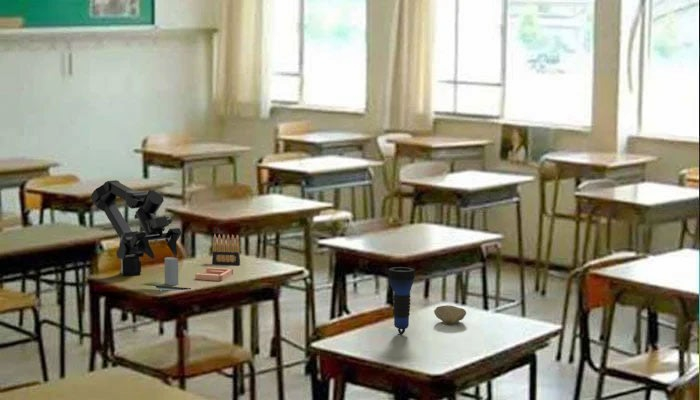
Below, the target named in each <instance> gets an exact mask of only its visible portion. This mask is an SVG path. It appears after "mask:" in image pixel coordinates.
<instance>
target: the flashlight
mask: <svg viewBox="0 0 700 400" xmlns="http://www.w3.org/2000/svg"><path fill="white" fill-rule="evenodd" d="M387 271H388V277H387V278H388V281H389V286H390V288H391V290H392V291H393V293H394V294H393V295H392V296H393V298H392V300H393V303H392V305H393V306H392V307H393V309H392V311H393V312H392V313H393V324H394V328H396V329H397V332H398V333H399V334H400V335H403V334H405V333H406V329H408V328H409V325H410V324H409V323H410V322H409V321H410V311H411V297H412V296H411V290H412V287H413V284H414V281H415V277H416V275H415V274H416V269H415V268H412V267H406V266H405V267H403V266H397V267H396V266H394V267H390V268H388V270H387Z"/></svg>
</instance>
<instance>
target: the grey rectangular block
mask: <svg viewBox="0 0 700 400" xmlns="http://www.w3.org/2000/svg"><path fill="white" fill-rule="evenodd" d="M164 285H168V286H169V287H170V288H174V287H175V286H176V285H179V258H177V257H174V256H171V257H164Z"/></svg>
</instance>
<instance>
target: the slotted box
mask: <svg viewBox="0 0 700 400" xmlns="http://www.w3.org/2000/svg"><path fill="white" fill-rule="evenodd" d="M232 275H234V269H233V268H221V267H219V268H218V267H206V268H205V273H198V272H197V273H195V275H194V279H195V280H203V281H217V282H219V281H220V282H222V281H224V280H225V279H227V278H229V277H231V276H232Z"/></svg>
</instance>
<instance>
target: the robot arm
mask: <svg viewBox="0 0 700 400" xmlns="http://www.w3.org/2000/svg"><path fill="white" fill-rule="evenodd" d="M117 197H118V198H120V199H122V200H124V202H125V205H127V207H129V208H130V209H133V210H134V209H136V211H135V214H134V217H133V218H134V219H136V220H138V221H139V223H140V225H141V228H140V230H141V231H138V230H134V231H133V230H132V229H131V228H130V227H129V224H128V222H127V221H126V220H125V218H124V216H123V214H122V213H121V211H120V210H119V208H118V206H117V204H116V203H117V202H116V201H117ZM90 199H91V202H92V203H93V205H94V206H95V208H97V209H98V210H101V211H102V212H104V213H105V216H106V217H107V219H108V220H109V223H110V224H111V225H112V227H113V229H114V230H115V232H116V234H117V236H118V237H119V243H118V245H119V247H118V249H117V250H116V257H117V259H120V264H121V265H120V266H121V267H120V273H121V275H122V276H137V275H138V276H139V275H141V272H142V261H141V260H140V258H143V257H144V254H145V255H146V256H148V257H149V258H151V259H152V260H154V259H155V253H154V252H153V249H152V247H151V245H150V244H149V242H150V241H158V240H165V242H166V245H167V246H168V248H169V250H170V251H171V253H172V254H173V255H174V256H175V257H176V256H177V255H178V246H177V242H178V240H179V239H180V237H181V236H182V234H183V232H182V230H181V228H179V227H173V228H169V229H168V231H167V232H164V231H165V230H166V227H168V226H170V224H172V222H173V220H172V217H171V215H170V214H165V215H164V216H160V217H156V215H155V214H156V213H158V211H159V209H160V208H161V206H162V204H163V203H164V199H165V198H164V197H163V195H161V194H160V193H159V192H157V191H155V189H149V190H148V192H147V191H143V190H134V189H133V188H131V187H129V186H127V185H125V184H123V183H121V182H120V181H119V180H116V179H115V180H107V181H105V182H104V183H103V184H102V185H100V186H98V187H97V188H95V190H93V192H92V193H91V194H90ZM163 232H164V233H163Z"/></svg>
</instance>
